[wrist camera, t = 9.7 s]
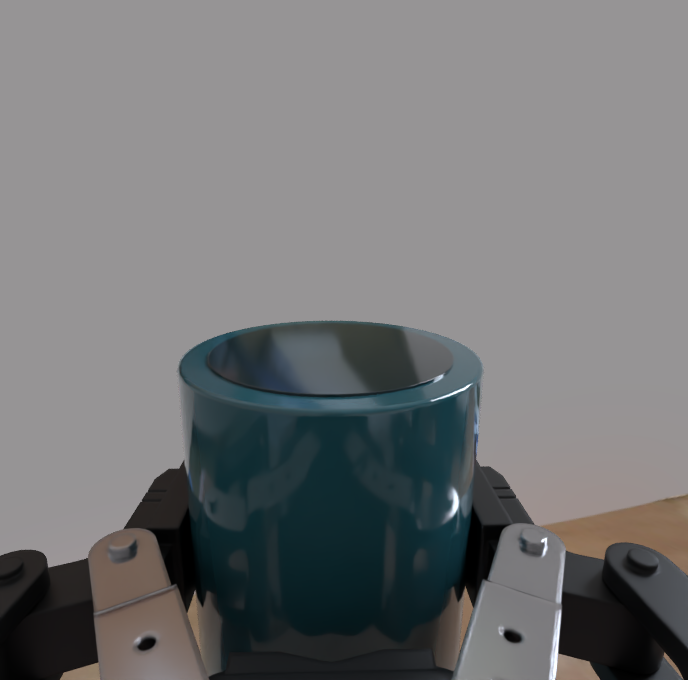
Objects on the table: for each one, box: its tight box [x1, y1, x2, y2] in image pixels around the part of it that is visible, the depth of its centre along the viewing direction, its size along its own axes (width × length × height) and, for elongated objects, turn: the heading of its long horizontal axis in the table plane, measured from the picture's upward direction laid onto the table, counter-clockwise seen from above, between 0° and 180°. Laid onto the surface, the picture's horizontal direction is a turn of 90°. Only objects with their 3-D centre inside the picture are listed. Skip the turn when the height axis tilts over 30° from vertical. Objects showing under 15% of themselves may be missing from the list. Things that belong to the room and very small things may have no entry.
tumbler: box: [177, 321, 484, 676], centre depth 12 cm, size 6×6×10 cm
